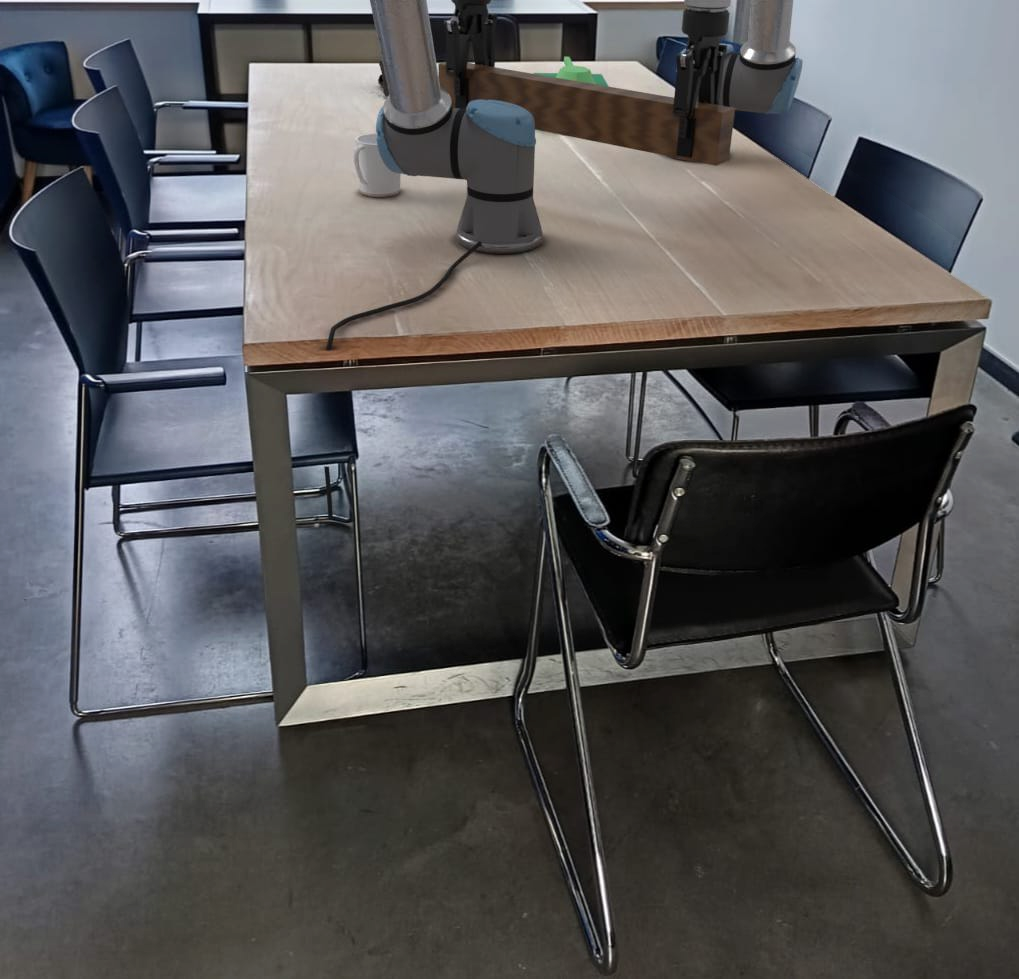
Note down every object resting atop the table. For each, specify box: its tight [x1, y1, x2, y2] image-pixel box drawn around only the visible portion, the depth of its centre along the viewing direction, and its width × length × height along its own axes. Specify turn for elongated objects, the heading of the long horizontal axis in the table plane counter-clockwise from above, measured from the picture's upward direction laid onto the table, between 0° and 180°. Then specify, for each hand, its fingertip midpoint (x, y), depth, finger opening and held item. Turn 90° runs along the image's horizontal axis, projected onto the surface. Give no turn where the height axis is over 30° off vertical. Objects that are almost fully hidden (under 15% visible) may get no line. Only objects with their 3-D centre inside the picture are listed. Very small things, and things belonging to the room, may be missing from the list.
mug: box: [352, 132, 402, 198], centre depth 216 cm, size 11×9×10 cm
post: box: [437, 61, 736, 167], centre depth 201 cm, size 62×5×9 cm, turn 53°
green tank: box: [532, 56, 610, 87], centre depth 275 cm, size 18×12×35 cm
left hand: (470, 109), depth 215 cm, fingers closed on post, 5 cm apart
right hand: (691, 152), depth 190 cm, fingers closed on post, 5 cm apart
